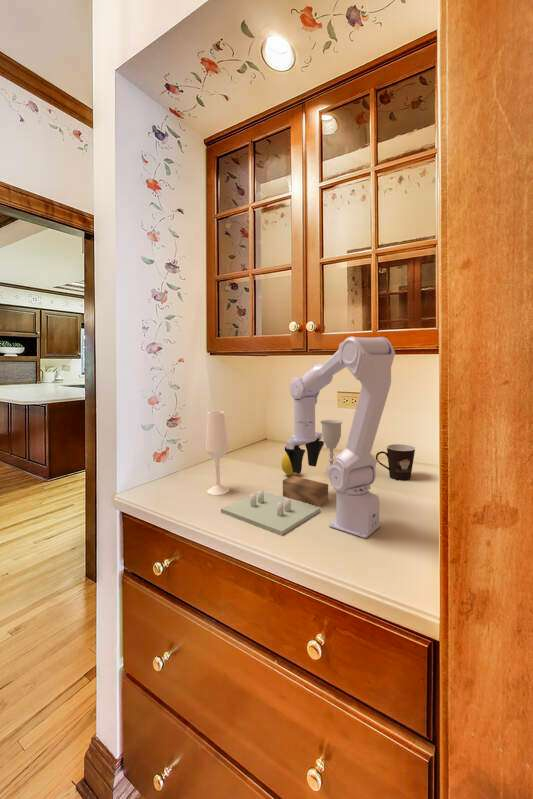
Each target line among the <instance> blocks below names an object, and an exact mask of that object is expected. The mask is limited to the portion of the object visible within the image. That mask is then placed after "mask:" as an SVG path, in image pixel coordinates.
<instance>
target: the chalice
mask: <svg viewBox="0 0 533 799" xmlns="http://www.w3.org/2000/svg"><path fill="white" fill-rule="evenodd" d="M320 424H321V433H322V441H324V444H325V446H326V448H327V449H329V454H328V455H329V459H328V461H329V465H328V466H326V468H325V470H324V472H323V475H324V476H326V477H329V469H330V467H331V466H332V465H333V463H334V461H335V459H334V455H335V454H334V449H337V447H338V445H339V442H340V439H341V438H342V424H343V421H342V420H338V419H324V420H321V421H320Z"/></svg>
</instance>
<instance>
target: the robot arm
mask: <svg viewBox="0 0 533 799" xmlns="http://www.w3.org/2000/svg"><path fill="white" fill-rule="evenodd" d="M395 355H396V351H395V350H394V347H393V345H392V343H391V341H390V340H389V339H388V338H386V337H385V336H378V337H361V336H360V337H357V336H349V337H347V338H345V339H344V340H343V341H342V342H340V343H339V344H338V350H337V351H336V352H335V353H333V355H331V356H330V358H329V359H327V360H326V361H325V363H314V364H313V365H312V368H311V369H310V370H308V371H307V372H305V373H303V375H302V376H301V377H293V379H292V380H290V384H289V392H290V396H291V397H292V399H293V405H294V407H293V408H294V409H293V410H294V411H293V413H294V414H293V416H294V417H293V421H294V422H293V424H294V425H293V426H294V427H293V428H294V430H293V432H294V434H292V435H291V438H290V439H289V440H286V442H285V445H286V446H284V451H285V453H286V454H287V455H288V457H289V459H290V462H291V465H292V469H293V472H294V474H301V472H302V469H303V460H304V455H305V453H307V454H306V455H307V464H308V466H309V467H315V468H316V467H317V463H318V459H319V456H320V452H321V450H322V448H323V446H324V444H325V442H324V440H323V437H322V432H318V431H316V405H317V403H318V397H319V395H320V392H321V390H323V389H324V388H325V387H326V386H328V385H329V384H331V383H332V380H333V378H334V375H335V374H338V372H339V373H340V371H342V370H343V369H345V368H347V370H349V373H351V374H352V376H353V377H354V378H355V380H357V381H359V382H360V384H361V388H360V391H359V397H358V399H357V404H356V406H355V412H354V415H353V417H352V418H353V420H352V423H351V426H350V427H351V428H350V431H349V433H348V437H347V443H346V446H345V448H344V449H343V450H342V451H341V452H340V453H339V454H337V455H336V456H335V459H334V461H333V465H332V466H331V467H330V469H329V476H328V480H329V482H330V485H331V487H332V488H333V490H335V491H336V492H335V495H336V496H335V501H336V503H335V505H336V506H335V507H336V508H335V509H336V510H335V513H336V514H335V515H336V516H335V519H334V520H333V521H331V522H330V523H328V527H330V528H333V529H336V530H339V531H342V532H344V533H348V534H352V535H355V536H358V537H361V538H363V539H366V538H368V537H369V536H371V535H372V534H373V533H374V532H375V531H376V530H377V529H378V528H380V527H381V524H380V498H379V495H377V494H375V493H373V492H371V491H370V490H371V485H372V484H374V483H375V481H376V478H377V472H376V471H377V470H376V467H377V463H378V462H377V460H376V457H375V456H373V454H372V449H373V446H374V442H375V440H376V436H377V433H378V429H379V425H380V423H381V422H380V421H381V418H382V415H383V412H384V408H385V406H386V401H387V398H388V395H389V392H390V388H391V384H392V366H393V362H394V359H395ZM303 445H305V449H303V448H301V447H300V446H303Z"/></svg>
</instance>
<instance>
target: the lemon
mask: <svg viewBox="0 0 533 799" xmlns="http://www.w3.org/2000/svg"><path fill="white" fill-rule="evenodd" d="M281 469H282V471H283V473H285V474H286V475H287V476H289V477H291V476H293V475H294V474H295V473H294V472H293V469H292V465H291V462H290V459H289V457H288V455H287V453H286V454H284V456H283V457H282V459H281Z"/></svg>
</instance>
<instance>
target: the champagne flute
mask: <svg viewBox="0 0 533 799" xmlns="http://www.w3.org/2000/svg"><path fill="white" fill-rule="evenodd" d="M206 419H207V420H206V435H205V436H206V437H205V451H206V454H208V456H209V457H210V458H212V459H213V460H215V485H213V486H211V487H210V488H209V489H207V493H208V494H209V495H213V496H220V495H221V496H222V495H225V494H228V493H229V492H230V488H229V487H226V486H224V485H222V484H221V475H220V474H221V472H220V468H221V467H220V459H222V458H223V457H224V456H225V455H226V454H227V452H228V450H229V444H228V443H229V442H228V434H227V428H226V419H225V412H224V411H222V410H213V411H212V410H211V411H208V412H207V415H206ZM227 492H228V493H227Z"/></svg>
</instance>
